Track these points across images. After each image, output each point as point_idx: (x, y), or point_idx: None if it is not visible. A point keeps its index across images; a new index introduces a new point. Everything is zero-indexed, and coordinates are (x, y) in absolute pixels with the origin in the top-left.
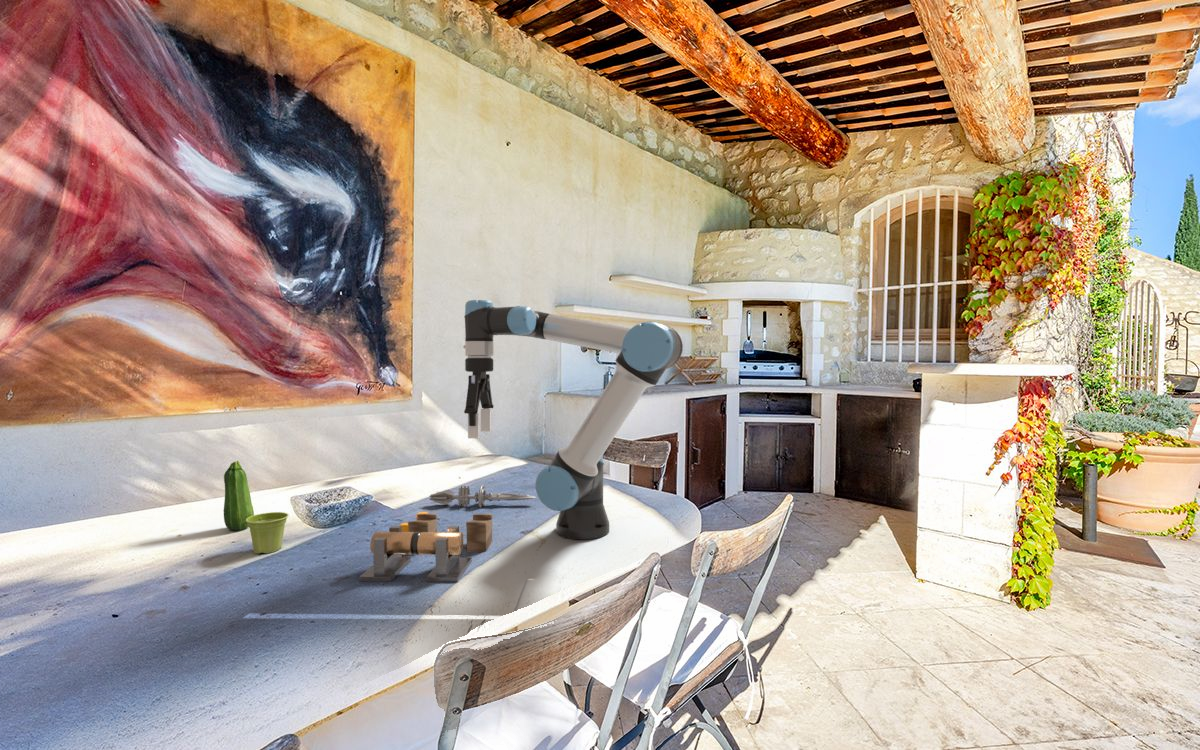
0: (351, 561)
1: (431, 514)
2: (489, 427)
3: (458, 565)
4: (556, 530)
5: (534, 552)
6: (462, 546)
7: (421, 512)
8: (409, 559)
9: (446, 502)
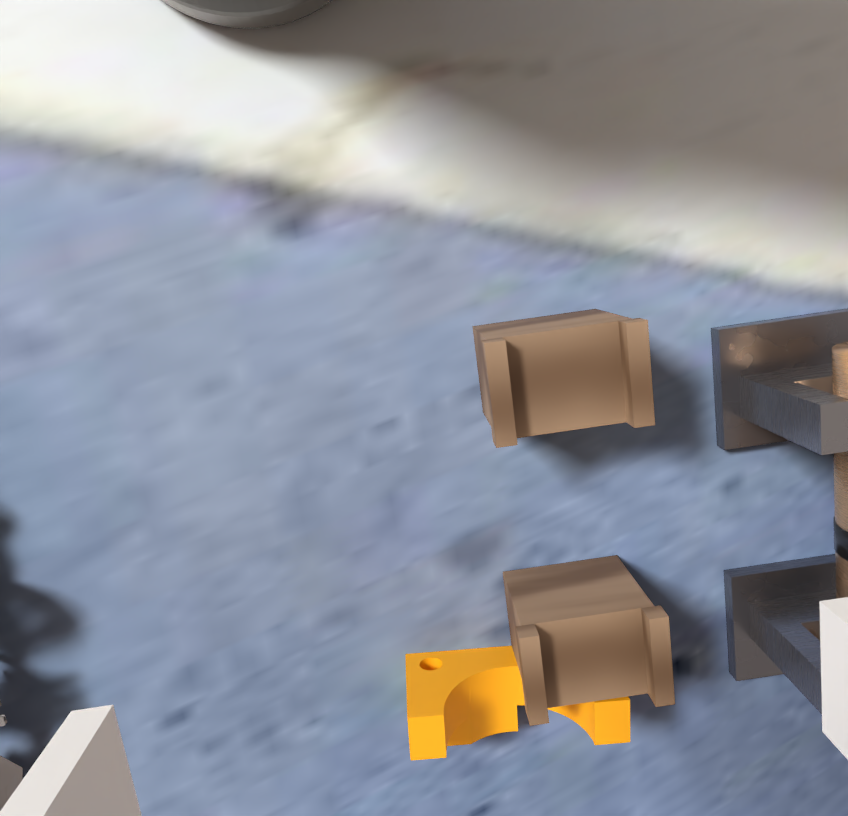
0: (740, 772)
1: (537, 658)
2: (90, 755)
3: (810, 348)
4: (300, 14)
5: (575, 74)
6: (840, 346)
7: (416, 748)
8: (744, 573)
9: (7, 774)
